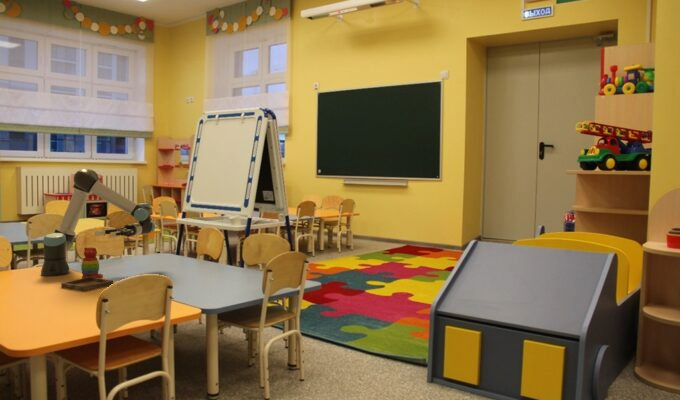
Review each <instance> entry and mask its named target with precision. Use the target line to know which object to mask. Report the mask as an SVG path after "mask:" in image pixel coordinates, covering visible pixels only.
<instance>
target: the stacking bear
mask: <svg viewBox="0 0 680 400" xmlns="http://www.w3.org/2000/svg"><path fill="white" fill-rule="evenodd" d="M97 254H98V251H97V249H96V248H95V247H84V249H83V255H84V257H83V259H82V262H81V266H80V267H81V268H80V269H81V274H82V276H81V279H83V278H88V277H94V278H100V279H103V277H104V275H103V274H102V273H99V271H100V263H99V260H98V258H97V257H96V256H97Z"/></svg>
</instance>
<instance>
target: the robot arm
mask: <svg viewBox="0 0 680 400" xmlns="http://www.w3.org/2000/svg"><path fill="white" fill-rule="evenodd" d="M72 189H73V190H74V191H73V193H72V194H71V195H72V196H71V198H70V200H69V203H68V205H67V208H66V211H65V212H64V214H63V217H62V219H61V222H60V225H59V226H58V227H56V228H55V229H54V233H47V234H46V235H44V236H43V243H42V244H43V263H42V267H41V269H40V275H41V276H43V277H54V276H55V277H56V276H64V275H67V274H70V267H69V264H68V261H67V252H68V251H69V250H70V249H71V248H72V247H73V246H74V240H75V237H76V232H75V230H76V227H77V225H78V222H79V220H80V218H81V215H82V212H83V210H84V208H85V205H86V203H87V202H88V201H87V200H88V198H89V196H90V195H93V194H94V195H95V196H97V197H98V198H101V199H102V200H104V201H105V202H107V203H109V204H111V205H113V206H114V207H116V208H118V209H120V210H122V211H123V212H124V213H126V214H129V215H130V216H131V217H133V218H134V219H135V220H136V221H137V222H135V223H134V222H133V223H129V224H125V225H124V227H120V228H119V227H118V228H110V229H109V228H108V229H102V230H95V231H94V237H98V236H106V235H109V238H116V237H121V236H123V237H125V236H126V237H134V236H135V237H138V236H140V235H148V234H151V233H154V232H155V230H156V224H155V222H153V221H152V220H151V216H152V215H151V204H150V203H148V202H147V203H146V202H143V203H142V202H141V203H136V202H134V201H133V200H130V199H129V198H127V197H126V196H124V195H123V194H121V193H118V192H117V191H115V190H114V189H112V188H111V187H109V186H107V185H106V184H104V183H101V181H100V177H99V174H98V173H97V172H96V171H95V170H92V169H90V168H86V169H79V170H78V171H77V172H75V174H74V175H73V187H72Z"/></svg>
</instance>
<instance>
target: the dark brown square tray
mask: <svg viewBox="0 0 680 400" xmlns="http://www.w3.org/2000/svg"><path fill="white" fill-rule="evenodd" d="M60 284H61V285H60V286H61V289H66V290H73V291H77V292H89V291H93V290H98V289H102V288H106V287H110V286H109V285H111V284H113V285H114V280H112V279H107V278H94V277H88V278H83V279H82V278H79V279H78V278H77V279H74V280H69V281H64V282H61V283H60ZM111 286H112V285H111Z"/></svg>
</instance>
